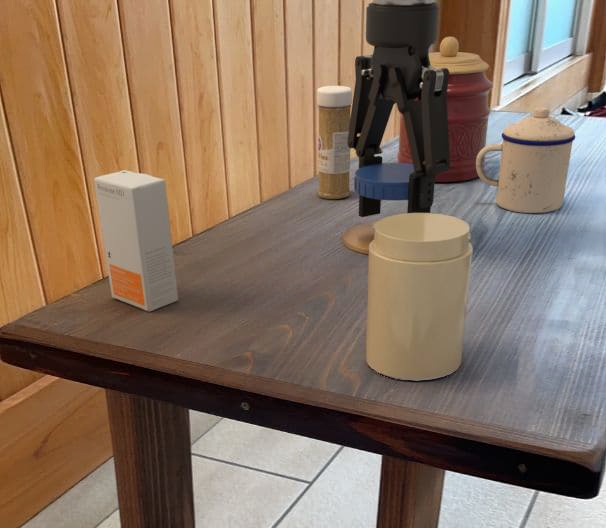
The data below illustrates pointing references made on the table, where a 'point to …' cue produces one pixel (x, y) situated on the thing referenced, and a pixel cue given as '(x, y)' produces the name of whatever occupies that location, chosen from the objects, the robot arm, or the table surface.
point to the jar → (417, 294)
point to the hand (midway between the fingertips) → (392, 224)
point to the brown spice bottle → (334, 141)
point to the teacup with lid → (532, 163)
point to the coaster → (359, 237)
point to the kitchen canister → (459, 111)
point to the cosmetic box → (137, 238)
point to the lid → (384, 181)
